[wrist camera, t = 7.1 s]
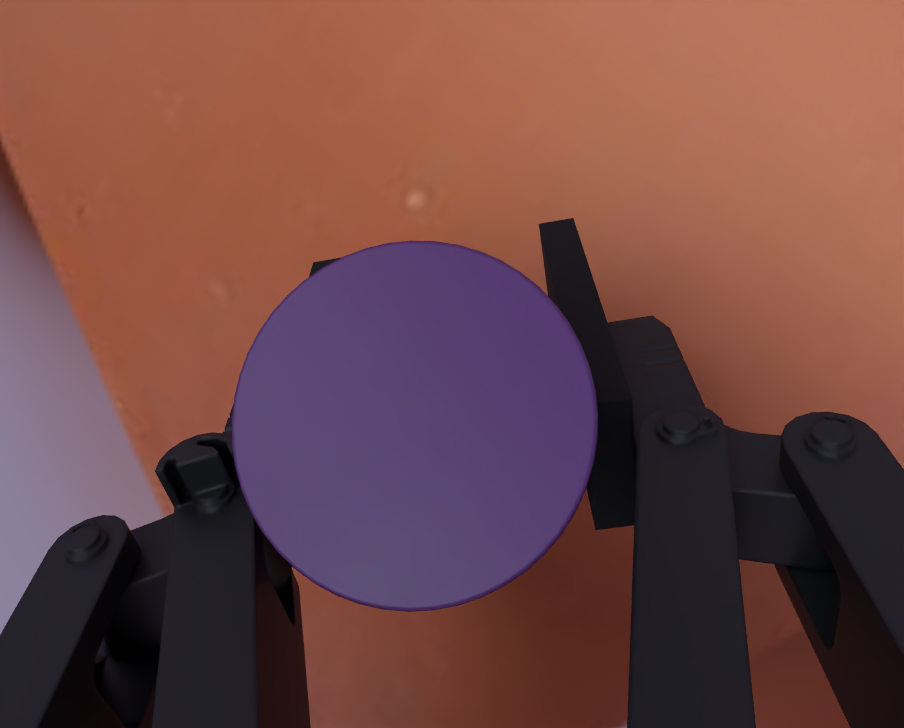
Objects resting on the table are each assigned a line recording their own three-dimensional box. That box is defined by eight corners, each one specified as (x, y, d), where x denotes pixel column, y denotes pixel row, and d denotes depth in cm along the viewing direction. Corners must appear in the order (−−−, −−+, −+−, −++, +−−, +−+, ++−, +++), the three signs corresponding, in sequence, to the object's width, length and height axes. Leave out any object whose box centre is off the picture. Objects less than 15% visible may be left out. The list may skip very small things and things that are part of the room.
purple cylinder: (417, 558, 21) (245, 634, 9) (398, 395, 22) (215, 270, 10) (582, 536, 20) (629, 587, 9) (556, 371, 21) (564, 211, 9)
